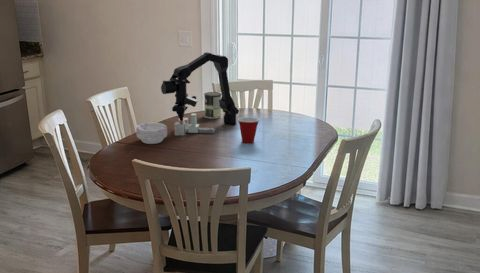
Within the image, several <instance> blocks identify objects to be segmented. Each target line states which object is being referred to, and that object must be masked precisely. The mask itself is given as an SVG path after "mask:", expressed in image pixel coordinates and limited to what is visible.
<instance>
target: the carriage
mask: <svg viewBox="0 0 480 273" xmlns="http://www.w3.org/2000/svg"><path fill="white" fill-rule="evenodd" d="M198 128H200V123H198V122H197V113H191V114H190V123H189V126H188V134H190V133H191V134H199V133H198Z"/></svg>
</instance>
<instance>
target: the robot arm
mask: <svg viewBox="0 0 480 273" xmlns="http://www.w3.org/2000/svg"><path fill="white" fill-rule="evenodd" d="M208 62H212V63H213V66H214V68H215V69H216V71H217V74H218V81H219V87H220V93H221V94H222V95H221V99H220V100H219V103H220V105H219V106H220V107H221V111H222V112H223V113H224V115H223V123H224V125H226V126H227V125H228V126H229V125H230V126H236V124H237V121H238V120H237V115H238V114H239V112H240V110H239V109H238V108H237V107H236V104H235V101H234V99H233V97H232V96H231V91H230V90H231V89H230V85H229V79H228V72H227V71H228V68H229V58H228V57H227V56H226V55H222V54H221V55H220V54H214V53H212V52H206V51H205V52H204V53H203V54H201V55H200V56H198V57H197V58H194V60H192V61H191V62H188V63H186V64H184V65H181V66H178V67H176V68H174V70H173V74H171V77H170V79H169V80H162V84H161V86H160V90H161V93H162V94H163V95H169V94H174V93H175V94H174V97H175V103H174V105H173V106H172V108H171V111H172V112H176V115H177V116H178V119H180V121H183V118H185V113H186V111H187V109H188V108H189V106H192V107H193V108H194V107H196V106H197V103H198V102H199V101H198V98H197V96H196V95H193V96H189V94H188V93H187V84H190V83H191V81H190V80H189V79H188V78H190V76H191V75H192V73H193V72H195V71H196V70H197V69H199V68H200V67H202V66H203V65H205V64H207V63H208ZM187 105H188V106H187Z"/></svg>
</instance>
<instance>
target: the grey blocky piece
mask: <svg viewBox="0 0 480 273" xmlns="http://www.w3.org/2000/svg"><path fill="white" fill-rule="evenodd" d="M179 120H180V119H179V118H178V119H177V121H176V122H174V136H185V135H186V134H187V128H188V126H189V125H190V123H189V117H184V118H183V120H185V122H178V121H179Z"/></svg>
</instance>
